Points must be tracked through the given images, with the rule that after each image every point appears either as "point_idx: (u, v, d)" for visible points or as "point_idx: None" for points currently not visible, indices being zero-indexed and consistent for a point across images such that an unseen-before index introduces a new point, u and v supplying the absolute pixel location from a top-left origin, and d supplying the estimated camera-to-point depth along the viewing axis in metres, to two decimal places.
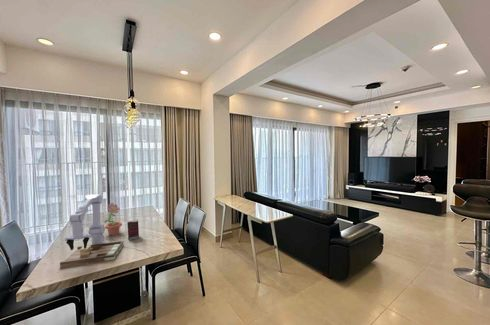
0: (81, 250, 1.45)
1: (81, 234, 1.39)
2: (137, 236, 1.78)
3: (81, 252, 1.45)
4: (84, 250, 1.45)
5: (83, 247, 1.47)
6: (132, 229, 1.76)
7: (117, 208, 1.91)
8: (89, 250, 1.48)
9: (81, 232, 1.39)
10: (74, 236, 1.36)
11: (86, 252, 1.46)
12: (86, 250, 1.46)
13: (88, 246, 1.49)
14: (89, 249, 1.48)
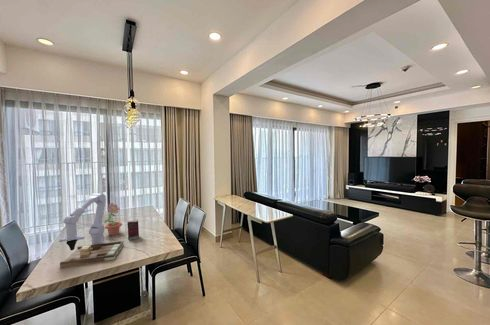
0: (81, 250, 1.45)
1: (75, 236, 1.44)
2: (137, 236, 1.78)
3: (81, 252, 1.45)
4: (84, 250, 1.45)
5: (83, 247, 1.47)
6: (132, 229, 1.76)
7: (117, 208, 1.91)
8: (89, 250, 1.48)
9: (75, 234, 1.44)
10: (68, 237, 1.42)
11: (86, 252, 1.46)
12: (86, 250, 1.46)
13: (88, 246, 1.49)
14: (89, 249, 1.48)
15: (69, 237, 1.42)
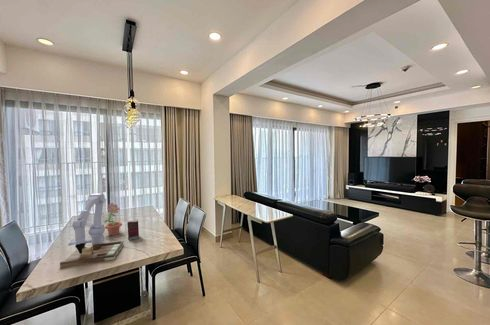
0: (83, 250, 1.45)
1: (83, 239, 1.46)
2: (137, 236, 1.78)
3: (83, 252, 1.45)
4: (86, 250, 1.46)
5: (85, 247, 1.48)
6: (132, 229, 1.76)
7: (117, 208, 1.91)
8: (91, 250, 1.49)
9: (83, 237, 1.46)
10: (77, 241, 1.44)
11: (89, 252, 1.46)
12: (88, 250, 1.46)
13: (90, 246, 1.49)
14: (91, 249, 1.49)
15: (78, 241, 1.44)
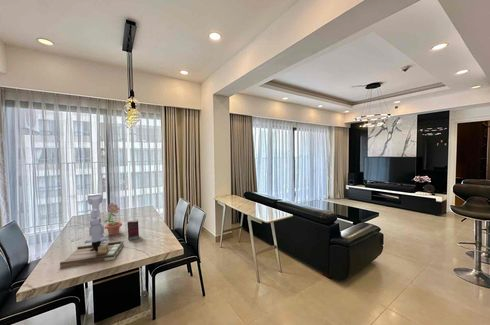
0: (99, 248, 1.48)
1: (99, 237, 1.49)
2: (137, 236, 1.78)
3: (99, 250, 1.48)
4: (102, 248, 1.49)
5: (101, 245, 1.51)
6: (132, 229, 1.76)
7: (117, 208, 1.91)
8: (106, 248, 1.52)
9: (99, 235, 1.49)
10: (93, 239, 1.47)
11: (104, 250, 1.49)
12: (104, 248, 1.49)
13: (105, 244, 1.52)
14: (106, 247, 1.52)
15: (94, 239, 1.47)
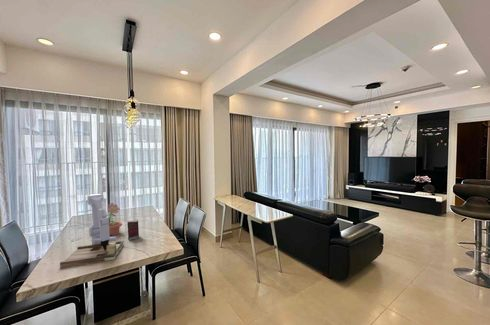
0: (108, 247, 1.50)
1: (108, 236, 1.51)
2: (137, 236, 1.78)
3: (108, 248, 1.50)
4: (110, 247, 1.50)
5: (109, 244, 1.52)
6: (132, 229, 1.76)
7: (117, 208, 1.91)
8: (115, 247, 1.53)
9: (108, 234, 1.51)
10: (102, 238, 1.48)
11: (113, 248, 1.51)
12: (112, 247, 1.51)
13: (114, 243, 1.54)
14: (115, 246, 1.53)
15: (103, 238, 1.48)
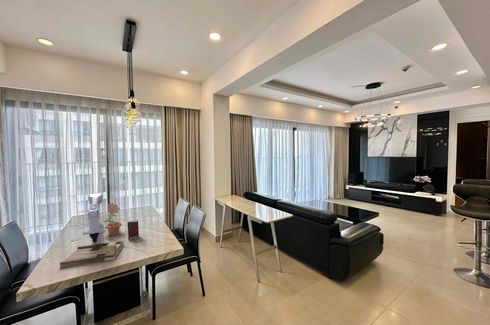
0: (108, 246, 1.50)
1: (97, 229, 1.50)
2: (137, 236, 1.78)
3: (108, 248, 1.50)
4: (111, 247, 1.50)
5: (109, 244, 1.52)
6: (132, 229, 1.76)
7: (117, 208, 1.91)
8: (115, 247, 1.53)
9: (97, 227, 1.50)
10: (91, 230, 1.47)
11: (113, 248, 1.51)
12: (112, 247, 1.51)
13: (114, 243, 1.54)
14: (115, 246, 1.53)
15: (92, 230, 1.47)
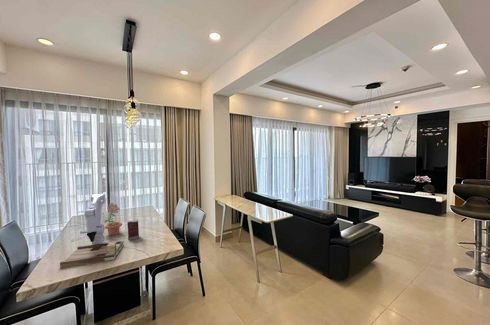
0: (108, 246, 1.50)
1: (94, 228, 1.51)
2: (137, 236, 1.78)
3: (108, 248, 1.50)
4: (111, 247, 1.50)
5: (109, 244, 1.52)
6: (132, 229, 1.76)
7: (117, 208, 1.91)
8: (115, 247, 1.53)
9: (94, 226, 1.51)
10: (88, 229, 1.49)
11: (113, 248, 1.51)
12: (112, 247, 1.51)
13: (114, 243, 1.54)
14: (115, 246, 1.53)
15: (89, 229, 1.49)
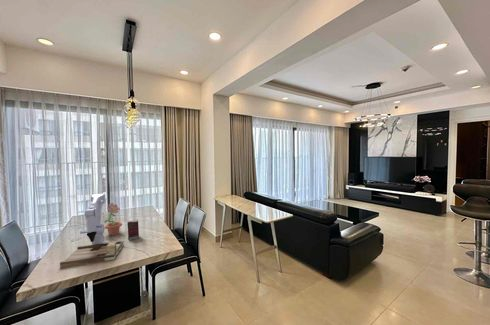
0: (108, 246, 1.50)
1: (94, 228, 1.51)
2: (137, 236, 1.78)
3: (108, 248, 1.50)
4: (111, 247, 1.50)
5: (109, 244, 1.52)
6: (132, 229, 1.76)
7: (117, 208, 1.91)
8: (115, 247, 1.53)
9: (94, 226, 1.51)
10: (88, 229, 1.49)
11: (113, 248, 1.51)
12: (112, 247, 1.51)
13: (114, 243, 1.54)
14: (115, 246, 1.53)
15: (89, 229, 1.49)
